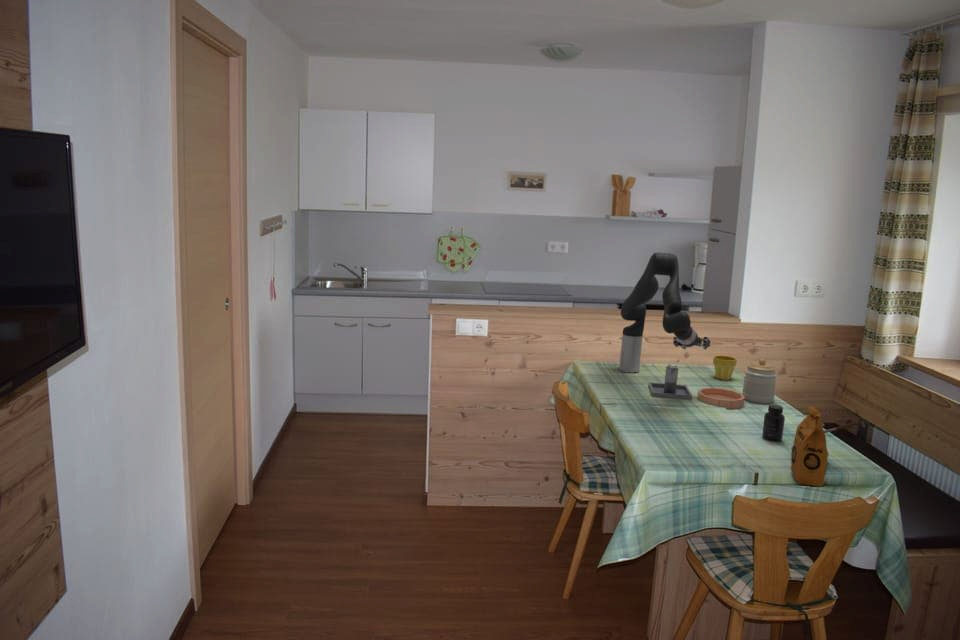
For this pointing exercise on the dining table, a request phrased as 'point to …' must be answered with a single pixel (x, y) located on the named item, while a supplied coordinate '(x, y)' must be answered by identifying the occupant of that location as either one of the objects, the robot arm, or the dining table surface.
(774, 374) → the jar
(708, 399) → the terracotta bowl
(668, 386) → the silver gray cylinder
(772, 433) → the supplement bottle
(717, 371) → the plant pot
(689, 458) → the dining table surface
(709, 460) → the dining table surface
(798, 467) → the coffee package
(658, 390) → the tray
